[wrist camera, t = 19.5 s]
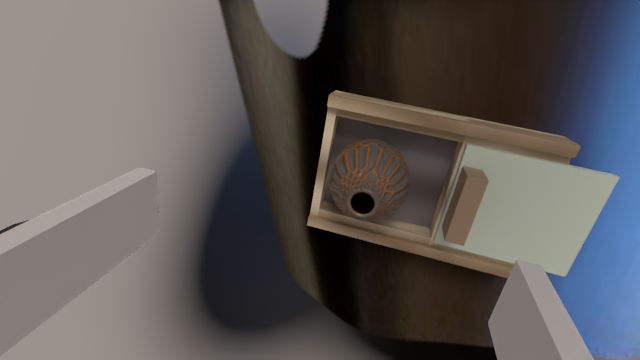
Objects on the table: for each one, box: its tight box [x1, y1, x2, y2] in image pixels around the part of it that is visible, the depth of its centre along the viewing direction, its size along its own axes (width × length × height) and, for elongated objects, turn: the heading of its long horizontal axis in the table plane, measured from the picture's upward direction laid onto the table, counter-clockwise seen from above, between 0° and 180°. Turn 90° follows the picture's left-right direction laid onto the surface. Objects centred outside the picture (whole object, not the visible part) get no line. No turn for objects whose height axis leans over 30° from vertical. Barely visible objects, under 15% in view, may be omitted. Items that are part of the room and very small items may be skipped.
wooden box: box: [307, 91, 581, 278], centre depth 32 cm, size 13×20×3 cm, turn 80°
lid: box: [433, 143, 620, 277], centre depth 29 cm, size 10×11×3 cm
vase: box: [329, 139, 410, 222], centre depth 30 cm, size 7×7×9 cm
